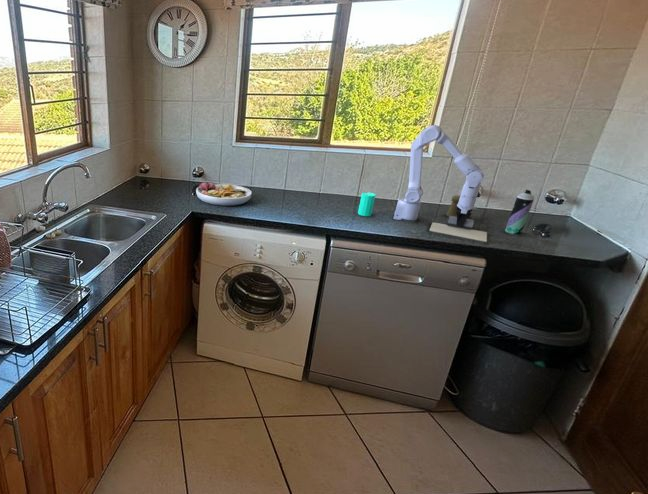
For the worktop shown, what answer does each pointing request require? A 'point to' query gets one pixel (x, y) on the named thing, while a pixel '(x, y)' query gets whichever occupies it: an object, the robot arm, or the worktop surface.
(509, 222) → the spray can
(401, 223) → the worktop surface
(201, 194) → the bowl
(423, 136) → the robot arm
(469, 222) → the eraser
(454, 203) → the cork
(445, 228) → the memo board
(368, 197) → the candle
